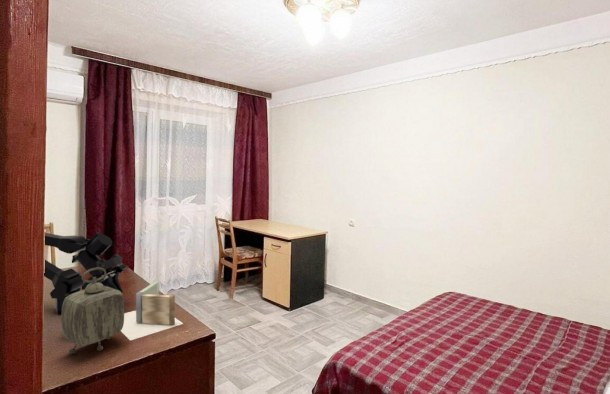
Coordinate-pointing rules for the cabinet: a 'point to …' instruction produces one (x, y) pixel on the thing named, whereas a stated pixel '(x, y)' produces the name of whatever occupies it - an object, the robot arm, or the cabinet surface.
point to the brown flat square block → (158, 309)
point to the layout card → (141, 327)
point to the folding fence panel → (149, 289)
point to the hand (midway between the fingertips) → (120, 293)
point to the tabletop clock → (92, 313)
